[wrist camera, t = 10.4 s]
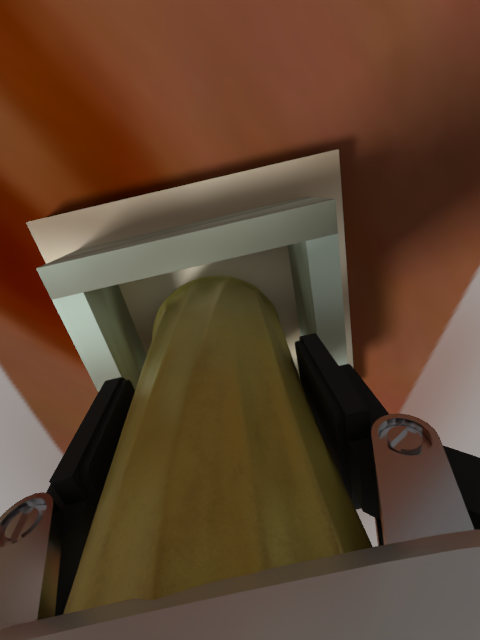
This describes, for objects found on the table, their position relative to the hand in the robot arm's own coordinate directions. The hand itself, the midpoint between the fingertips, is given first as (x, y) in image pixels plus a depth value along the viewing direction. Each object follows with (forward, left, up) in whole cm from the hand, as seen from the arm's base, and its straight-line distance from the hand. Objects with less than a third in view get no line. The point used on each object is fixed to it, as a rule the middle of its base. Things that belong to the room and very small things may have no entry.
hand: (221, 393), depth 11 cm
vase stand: (0, 0, -7) cm, 7 cm away
